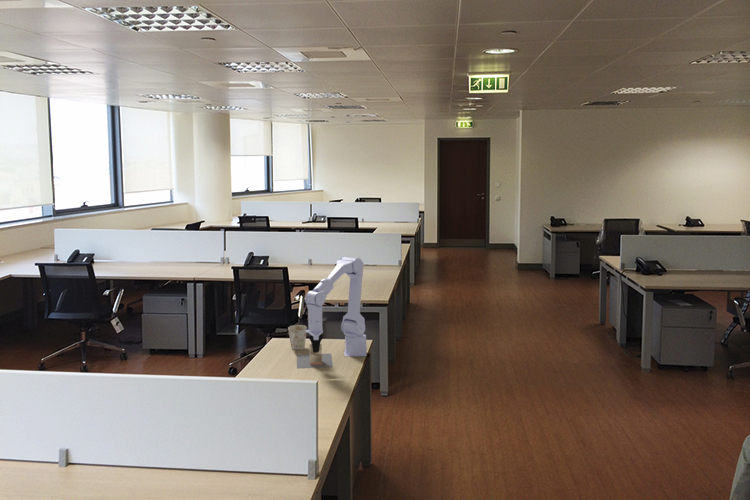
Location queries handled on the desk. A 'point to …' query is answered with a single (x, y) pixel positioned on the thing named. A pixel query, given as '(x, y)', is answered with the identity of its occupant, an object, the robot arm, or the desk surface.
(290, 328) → the mug
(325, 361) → the mat
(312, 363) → the block
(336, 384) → the desk surface
